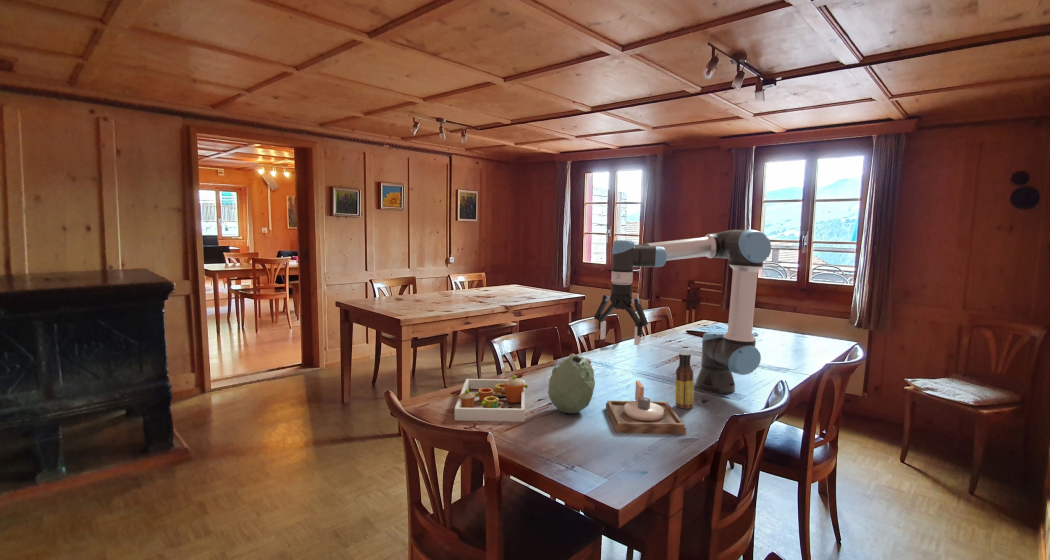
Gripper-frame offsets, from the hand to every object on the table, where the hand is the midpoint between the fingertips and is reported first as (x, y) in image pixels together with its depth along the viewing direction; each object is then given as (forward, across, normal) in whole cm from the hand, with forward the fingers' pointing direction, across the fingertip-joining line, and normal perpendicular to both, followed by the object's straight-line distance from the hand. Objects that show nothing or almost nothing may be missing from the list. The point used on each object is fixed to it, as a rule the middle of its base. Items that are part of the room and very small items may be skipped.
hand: (619, 341), depth 185 cm
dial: (+21, +13, -6) cm, 25 cm away
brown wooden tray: (+24, +14, -8) cm, 29 cm away
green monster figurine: (+24, -9, -17) cm, 31 cm away
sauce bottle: (+24, +20, +14) cm, 34 cm away
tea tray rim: (+24, -36, -28) cm, 51 cm away
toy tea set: (+24, -36, -28) cm, 52 cm away
